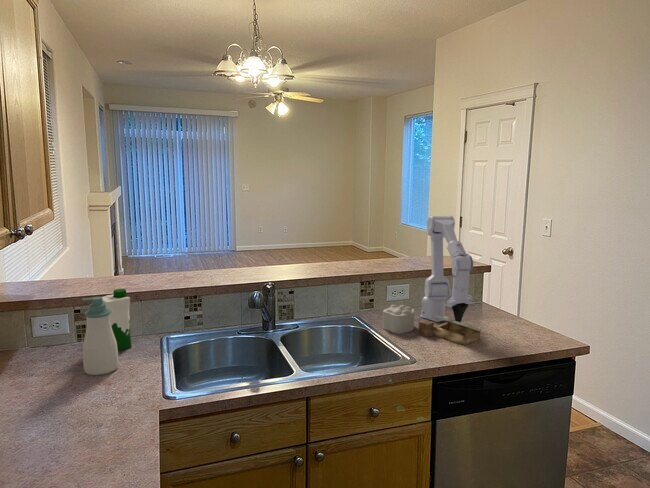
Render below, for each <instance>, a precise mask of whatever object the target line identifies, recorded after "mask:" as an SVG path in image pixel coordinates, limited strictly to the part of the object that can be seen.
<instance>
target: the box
mask: <svg viewBox="0 0 650 488" xmlns="http://www.w3.org/2000/svg"><path fill="white" fill-rule="evenodd" d="M433 335H434V336H435V337H439V338H442V339H445V340H448V341H451V342H454V343H457V344H460V345H463V346H468V345H469V344H471V343H474V342H476V341H478V340H480V338H481V331H478V330H474V329H471V328H468V327H465V326H461V325H458V324H455V323H452V322H448V321H446V322H445V323H441V324H438V325H436V326H434V327H433ZM433 335H432V336H433Z"/></svg>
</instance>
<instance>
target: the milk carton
mask: <svg viewBox="0 0 650 488" xmlns="http://www.w3.org/2000/svg"><path fill="white" fill-rule="evenodd" d="M112 293H113V294H108V295H105V296H101V297H102V298H103V302H104V303H106V308H108V309H110V310H111V313H110V322H111V327H112V330H113V333H114V336H115V339H116V342H117V348H118V352H119V351H123V350H127V349H131V348H132V335H131V333H132V332H131V320H130V319H131V317H130V306H131V297H130V296H128V295H127V289H126V288H125V289H124V288H117V289H114V290H113V291H112Z"/></svg>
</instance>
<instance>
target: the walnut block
mask: <svg viewBox="0 0 650 488" xmlns="http://www.w3.org/2000/svg"><path fill="white" fill-rule="evenodd" d="M434 323H435V321H432V320H429V319H424V320H420V321H418V329H417V330H418V332H417V334H418V335H420V336H423V337H425V338H428V337H430V336H433V328H434V327H435V326H434Z"/></svg>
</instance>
